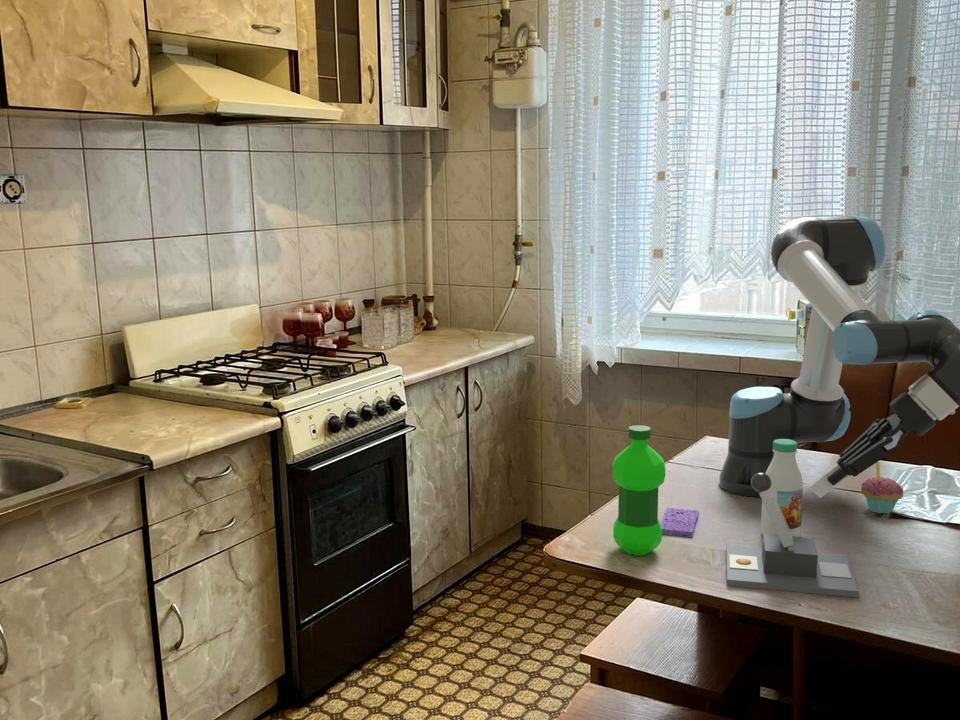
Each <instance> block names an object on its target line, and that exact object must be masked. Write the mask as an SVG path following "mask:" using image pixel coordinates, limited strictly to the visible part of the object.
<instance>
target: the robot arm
mask: <svg viewBox="0 0 960 720" xmlns="http://www.w3.org/2000/svg"><path fill="white" fill-rule="evenodd" d="M770 250H771V251H770V256H771V261H772V265H773V267H774V268H775V270H776V272H777V273H778V274H779V275H780V277H781V278H782V279H783V280H784V281H787V282H788V283H789V282H790V283H792V284H793V285H794V286H795V287H796V288H797V290H799V292H800V293H801V294H802V295H803V296H804V298H805V299H806V300H807V302H808V303H809V304H810V305H811V311H810V312H811V313H810V318H809V322H808V323H809V324H808V329H807V332H806V333H807V335H806V340H805V345H804V350H803V351H804V352H803V355H802V362H801V367H800V371H799V377H797V378H795V379H793V381H791V384H790V389H789V392H788V393H785V392H784V393H783V390H782V389H781V388H779V387H775V386H753V387H752V386H751V387H746V388H744V389H740V390H738V391H736V392H735V393H734V394H732V396H731V398H730V404H729V411H728V415H729V416H728V417H729V418H728V419H729V421H728V422H729V423H728V424H729V425H728V427H729V428H728V452H727V455H726V458H725V460H724V463H723V465H722V468H721V471H720V474H719V482H718V483H719V487H721V488H722V489H723V490H724V491H727V492H730V493H731V494H736V495H741V496H745V497H747V496H748V497H755V498H756V497H757V498H761V497H760V494H759V492H757V491H756V490H754V489H753V487H752V485H751V479H752V477H753V476H754V475H755V474H757V473H766V471H767V469H768V467H769V465H770V464H771V462H772V459H773V456H774V452H773V442H774V440H777V439H789V440H793V441H796V442H797V444H798V443H814V442H815V443H824V442H830V441H836V440H837V439H840V438H841V437H843V435H845V432H847V429H848V428H849V424H850V421H851V411H850V408H851V404H850V400H849V399H848V397H847V395H846V394H845V390H844V388H843V387H842V386H841V385H840V384H839V383H840V379H841V374H842V369H843V365H844V364H845V365H859V366H865V365H877V364H893V363H898V364H899V363H900V364H901V363H920V362H922V363H923V362H924V363H925V362H926V363H928V364H929V365H930V366H932V367H933V368H931V370H929V371H927V373H925V374H924V375H923V376H921V377H920V378H918V379H917V380H916V381H915V382H913V383H912V384H911V385H909V386H908V390H909V391H908V392H902V393H900V394H899V395H898V396H896V398H894V399H893V400H892V401H891V402H889V408H890V409H891V410H892V411H893V414H891V415H889V416H888V417H886V418H885V417H884V418H882V419H880V418H877V419H875V420H874V421H873V422H872V424H871V425H870V426H869V427H868V428H867V429H866V430H865V431H864V432H863V433H862V434H860V435H859V436H858V437H857V438H856V439H855V440H854V441H853V442H852V443H851V444H850V445H849V446H848V447H846V448H845V449H844V450H843V451H842V452H841V453H840V454H839V458H838V460H836V462H835V463H834V464H833V465H832V466H830V467H829V468H828V469H827V470H825V471H824V472H823V473H821V474H820V475H819V476H818V477H816V478H815V479H814V480H813V481H811V482H810V483H809V484H808V486H809V489H810V490H811V491H812V492H813V493H814V494H815V495H816V496H817V498H819V499H821V498H823V496H825V495H826V494H828V493H829V492H830V491H832V489H834V488H836V486H838V485H839V484H840V483H841V482H843V481H844V480H845V479H847V478H848V477H850V476H853V478H855V477H857V476H858V475H860V474H861V473H863V472H865V471H866V470H867V469H869V468H871V467H872V466H874V465H876V463H877V462H880V461H881V460H883V459H884V458H885V457H887V456H889V455H891V454H892V453H895V452H896V451H898V450H900V449H901V445H900V443H902V442H903V441H904V439H905V437H906V436H907V435H908V434H909V433H910V432H913V433H914V434H915V435H917V436H918V437H922V436H924V435H925V434H926V433H927V432H929V431H930V430H932V429H933V428H934V427H935V426H936V420H937V421H942V420H944V419H945V418H947V416H949V415H950V416H951V415H954V414H955V413H956V409H958V408H959V407H960V328H958V327H957V326H956V325H955V324H954V322H953V321H951V320H950V319H949V318H947V317H945V316H944V315H942V314H941V312H940V313H939V312H938V311H936V310H932V309H923V310H920V311H919V312H917V313H913V314H912V315H911V316H909V318H908V319H907V320H905V319H904V320H881V319H879V317H878V316H877V315H876V314H875V313H874V312H873V310H871V309H870V307H868V306H867V304H866V303H865V302H864V301H863V300H862V299H861V298H860V297H859V295H858V291H859V288H860V287H863V286H864V285H866V284H867V282H868V278H869V273H870V272H874V271H876V270H878V269H879V268H880V267H881V266H882V265H883V263H884V260H885V255H886V244H885V237H884V234H883V231H882V230H881V227H880V225H879V224H878V223H877V221H875V220H874V219H873V218H871V217H868V216H856V215H846V216H845V215H844V216H843V215H841V216H839V215H837V216H819V217H818V216H817V217H816V216H805V217H800V218H797V219H794V220H792V221H789V222H788V223H786V224H785V225H784V226H783V227H782V228H781V229H780V230H779V231H778V232H777V234H776V235H775V236H774V238H773V242H772V243H771V248H770Z"/></svg>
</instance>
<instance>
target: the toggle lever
mask: <svg viewBox="0 0 960 720" xmlns="http://www.w3.org/2000/svg"><path fill="white" fill-rule="evenodd" d="M771 484H772V482H771V479H770V477H769V476H768V475H767V474H765V473H757V474H755V475H754V476H753V477H752V479H751V485H752V487H753V489H754V490H756V491H757V492H759V494H760V497H759V498H760V499H761V502H762V501H763V503H764V505H765V507H766V510H767V512H768V514H769V516H770V518H771V520H772V523H773V525H774V527H775V529H776V531H777V533H778V536H779V538H780V540H781V542H782V544H783V547H784V548H786V547H789V546H792V545H794V543H793V538H792V533H791V531H790V529H789V527H788V525H787V522H786V520H785V518H784V516H783V514H782V512H781V509H780V507H779V505H778V503H777V501H776V498H775V496H774V494H773V492H772V490H771V488H770V487H771Z"/></svg>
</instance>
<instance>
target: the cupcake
mask: <svg viewBox="0 0 960 720" xmlns="http://www.w3.org/2000/svg"><path fill="white" fill-rule="evenodd" d="M875 467H876V468H875V469H876V470H875V471H876V472H875V473H876V477H872V478H868V479H866V480H865V481H864V482H862V483H861V489H860V493H861V494H862V495H863V496H864V497H865V500H866V502H867V507H868V510H869V511H870V512H873V513H875V512H877V513H876V514H881V513H888V514H891V513H893V511H894V509H895V507H896V504H897V503H898V501H899V500H902V498H903V497H904V488H903V487H902V485H900V484H899V483H897V482H896V481H895V480H894V479H892V478H889V477H883V476H882V477H881V470H880V461H878V462H877V463H875ZM890 512H891V513H890Z"/></svg>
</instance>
